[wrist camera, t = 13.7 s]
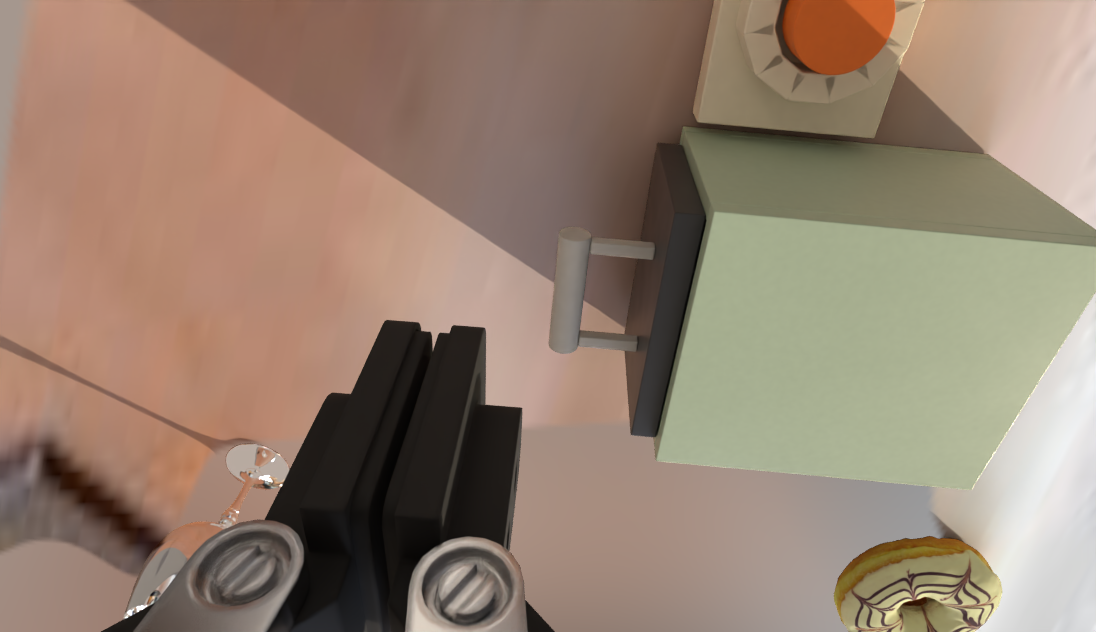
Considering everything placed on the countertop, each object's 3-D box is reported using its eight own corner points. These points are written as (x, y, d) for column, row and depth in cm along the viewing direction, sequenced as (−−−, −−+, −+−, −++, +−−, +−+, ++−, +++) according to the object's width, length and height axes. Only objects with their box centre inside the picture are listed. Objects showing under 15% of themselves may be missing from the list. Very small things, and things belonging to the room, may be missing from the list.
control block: (742, -147, 26) (761, -150, 23) (949, -129, 26) (994, -129, 23) (691, 111, 31) (702, 136, 28) (861, 127, 31) (889, 153, 28)
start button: (796, -40, 25) (809, -35, 23) (892, -32, 25) (911, -26, 23) (771, 60, 27) (781, 71, 25) (860, 68, 27) (875, 79, 25)
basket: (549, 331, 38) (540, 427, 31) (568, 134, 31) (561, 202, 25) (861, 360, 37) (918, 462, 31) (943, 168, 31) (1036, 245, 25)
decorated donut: (994, 594, 50) (1021, 643, 47) (848, 627, 53) (865, 674, 50) (970, 510, 45) (999, 557, 42) (812, 551, 48) (827, 598, 45)
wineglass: (207, 433, 45) (97, 594, 35) (292, 439, 45) (206, 602, 35) (227, 491, 48) (131, 654, 38) (306, 497, 48) (231, 661, 38)
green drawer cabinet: (641, 340, 39) (655, 461, 31) (682, 125, 32) (714, 210, 24) (892, 363, 39) (971, 490, 31) (988, 153, 32) (1123, 248, 24)
